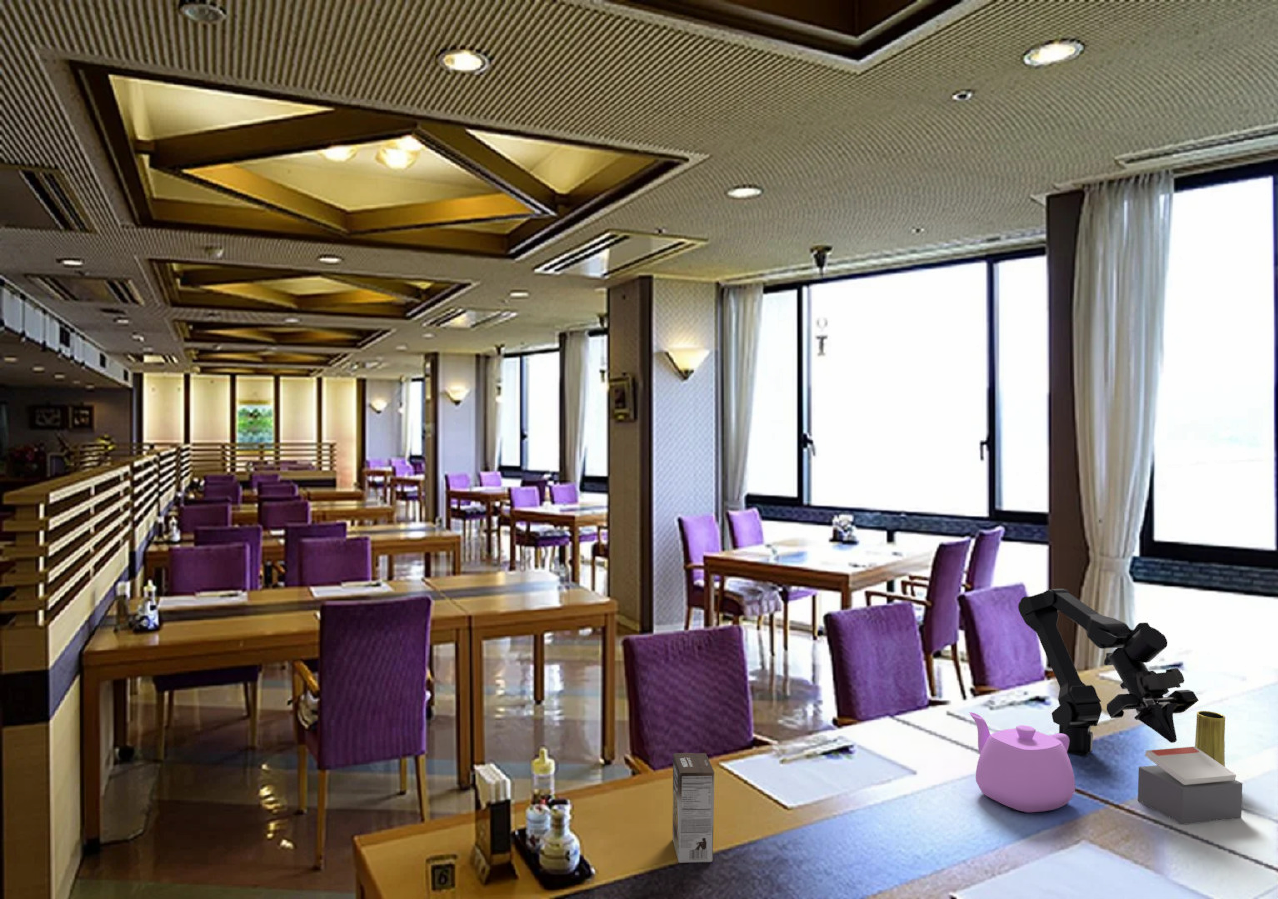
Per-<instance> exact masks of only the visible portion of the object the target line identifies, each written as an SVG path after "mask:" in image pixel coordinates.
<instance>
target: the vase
mask: <svg viewBox="0 0 1278 899" xmlns="http://www.w3.org/2000/svg"><path fill="white" fill-rule="evenodd" d="M1195 726H1196V727H1195V728H1196V729H1195V742H1194V747H1196V748H1198V749H1199V750H1201V751H1202V752H1204V753H1205V754H1207V755H1208V756H1209V757H1211V758H1212V759H1214V760H1215V761H1217V762H1218V763H1220V764H1221V765H1223V766H1224V767H1226V766H1225V765H1226V762H1225V761H1226V760H1225V758H1226V757H1225V756H1226V754H1225V751H1226V750H1225V749H1226V743H1225V742H1226V741H1225V738H1226V737H1225V735H1226V734H1225V733H1226V716H1225V715H1224V714H1222V713H1218V712H1215V711H1209V710H1208V711H1207V710H1199V711H1197V712H1196V725H1195Z"/></svg>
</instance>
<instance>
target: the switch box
mask: <svg viewBox="0 0 1278 899" xmlns="http://www.w3.org/2000/svg"><path fill="white" fill-rule="evenodd" d="M1137 781H1138V782H1137V801H1138V802H1139V803H1141V804H1143V805H1146V807H1148V808H1151V809H1153V810H1154V811H1156V812H1158V813H1160V814H1162V815H1163V816H1166V817H1167V818H1169V819H1171V820H1172V821H1175V822H1177V823H1179V825H1191V824H1199V823H1209V822H1219V821H1227V820H1236V819H1237V820H1238V819H1242V810H1243V809H1242V807H1243V806H1242V805H1243V782H1241V781H1238V780H1236V779H1235V780H1232V781H1221V782H1211V783H1200V784H1190V785H1183V784H1182V783H1181V782H1179V781H1178V780H1177V779H1175V778H1174V777H1173V776H1171V775H1170V774H1169V773H1167V772H1166V771H1165V770H1163V769H1162V768H1161V767H1159V766H1158V765H1157V764H1156V765H1147V766H1144V765H1143V766H1138V780H1137Z"/></svg>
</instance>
